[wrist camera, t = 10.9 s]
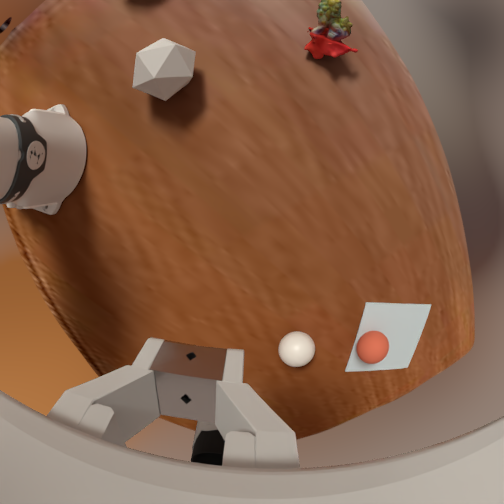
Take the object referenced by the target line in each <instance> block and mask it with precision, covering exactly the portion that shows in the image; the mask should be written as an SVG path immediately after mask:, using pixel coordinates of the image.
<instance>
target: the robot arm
mask: <svg viewBox="0 0 504 504" xmlns="http://www.w3.org/2000/svg"><path fill="white" fill-rule="evenodd" d="M85 161H86V141H85V137H84V133H83V131H82V129H81V127H80V126H79V124H78V123H77V122H76V121H74V120H73V119H72V118H71V117H70V116H69V113H68V110H67V108H66V106H65V105H62V104H58V105H56V106H54V107H52V108H50V109H48V110H40V109H31V110H30V112H27V113H25V114H24V115H22V116H19V115H13V114H11V115H2V116H0V204H6V203H7V207H9V208H17V209H29V208H32V209H35V210H38V211H41V212H44V213H46V214H49V215H52V214H56V213H57V211H58V210H59V208H60V206H61V203H62V201H63V200H64V199H65V198H66V197H67V196H68V195H69V194H70V193H71V192H72V191H73V190H74V189H75V187H76V186H77V184H78V182H79V180H80V178H81V176H82V173H83V170H84V166H85ZM47 205H48V207H47ZM243 367H244V350H242V349H223V348H213V347H204V346H196V345H192V344H186V343H180V342H174V341H168V340H163V339H157V338H148V339H147V341H146V343H145V344H144V346H143V348H142V349H141V351H140V352H139V354H138V356H137V357H136V359H135V361H134V362H133V364H132V366H129V365H126V366H124V367H121V368H119V369H117V370H115V371H112V372H110V373H107V374H105V375H103V376H100V377H98V378H96V379H93V380H91V381H88V382H86V383H84V384H81V385H79V386H76V387H74V388H71V389H68V390H66V391H65V392H64V393H63V395H62V396H61V397H60V399H59V400H58V401H57V403H56V404H55V406H54V407H53V408H52V410H51V411H50V412H49V414H48V415H47V416H45V415H43V414H41V413H39V412H37V411H35V410H33V409H31V408H29V407H28V406H26V405H24V404H22V403H21V402H19V401H17V400H15V399H14V398H12V397H10V396H9V395H7V394H5V393H4V392H2V391H1V390H0V504H504V416H503V417H501V418H499V419H497V420H495V421H493V422H491V423H488V424H486V425H484V426H482V427H480V428H478V429H475V430H473V431H470V432H468V433H466V434H463V435H461V436H458V437H456V438H453V439H450V440H447V441H444V442H441V443H438V444H435V445H432V446H429V447H426V448H422V449H419V450H415V451H411V452H408V453H404V454H400V455H396V456H391V457H387V458H382V459H376V460H371V461H365V462H359V463H352V464H345V465H337V466H327V467H316V468H315V467H314V468H300V464H299V457H298V450H297V443H296V435H295V432H294V431H293V430H292V429H291V428H290V427H289V426H288V425H287V424H286V423H285V422H284V421H283V420H282V419H281V418H280V417H279V416H278V415H277V414H276V413H275V412H274V411H273V410H272V409H271V408H270V407H269V406H268V405H267V404H266V403H265V402H264V401H263V400H262V399H261V398H260V396H259V395H258V394H257V393H256V392H255V391H254V390H253V389H252V388H251V387H250V386H249V385H248V384H246V383H243ZM160 414H161V415H167V416H173V417H179V418H186V419H192V420H197V421H204V422H210V423H215V425H216V427H217V428H218V430H219V432H220V434H221V435H222V437H223V439H224V440H225V445H224V454H223V462H222V466H218V465H209V464H202V463H195V462H189V461H183V460H177V459H172V458H167V457H163V456H158V455H154V454H150V453H145V452H141V451H137V450H134V449H131V448H127V447H126V445H125V442H126V441H127V440H129V439H130V438H131V437H133V436H134V435H136V434H137V433H138V432H140V431H141V430H142V429H143V428H145V427H146V426H147V425H149V424H150V423H151V422H153V421H154V420H155V419H157V418H158V417H159V416H160Z"/></svg>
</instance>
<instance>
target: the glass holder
mask: <svg viewBox="0 0 504 504" xmlns="http://www.w3.org/2000/svg"><path fill="white" fill-rule="evenodd" d="M224 445H225V440H224V439H223V437H222V435H221V434H220V432H219V430H218V428H217V427H216V425H215V423H210V422H204V421H198V422H197V427H196V432H195V437H194V442H193V447H192V448H193V453H192V458H191V462H195V463H202V464H209V465H218V466H222V462H223V454H224Z"/></svg>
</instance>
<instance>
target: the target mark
mask: <svg viewBox="0 0 504 504" xmlns="http://www.w3.org/2000/svg"><path fill="white" fill-rule="evenodd" d="M430 308H431V304H398V303H372V302H366V304H365V308H364V312H363V315H362V319H361V322H360V326H359V329H358V333H357V336H356V339H355V342H354V346H353V349H352V352H351V355H350V358H349V361H348V364H347V367H346V369H345V372H348V371H372V370H388V369H400V368H407V367H408V365H409V363H410V361H411V358H412V356H413V353H414V351H415V349H416V346H417V344H418V341H419V339H420V336H421V333H422V331H423V328H424V325H425V322H426V319H427V317H428V314H429V311H430ZM369 331H379V332H381V333H383V334H384V335H385V336H386V337H387V339H388V342H389V351H388V353H387V355H386V357H385V358H384V359H383V360H382V361H380V362H378V363H375V364H368V363H365V362H363V361H362V360H361V359H360V358H359V356H358V354H357V350H356V348H357V343H358V340H359V339H360V337H361V336H362V335H363V334H365V333H366V332H369Z"/></svg>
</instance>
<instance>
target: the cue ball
mask: <svg viewBox="0 0 504 504" xmlns="http://www.w3.org/2000/svg"><path fill="white" fill-rule="evenodd" d="M314 353H315V345H314V342H313V340H312V338H311V337H310V336H309V335H308V334H306V333H304V332H299V331H295V332H291V333H289V334H287V335H286V336H284V337H283V339H282V340H281V342H280V344H279V355H280V358H281V359H282V361H283V362H284V363H286V364H287V365H289V366H292V367H301V366H304V365H306V364H307V363H309V362H310V361H311V359H312V358H313V356H314Z"/></svg>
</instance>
